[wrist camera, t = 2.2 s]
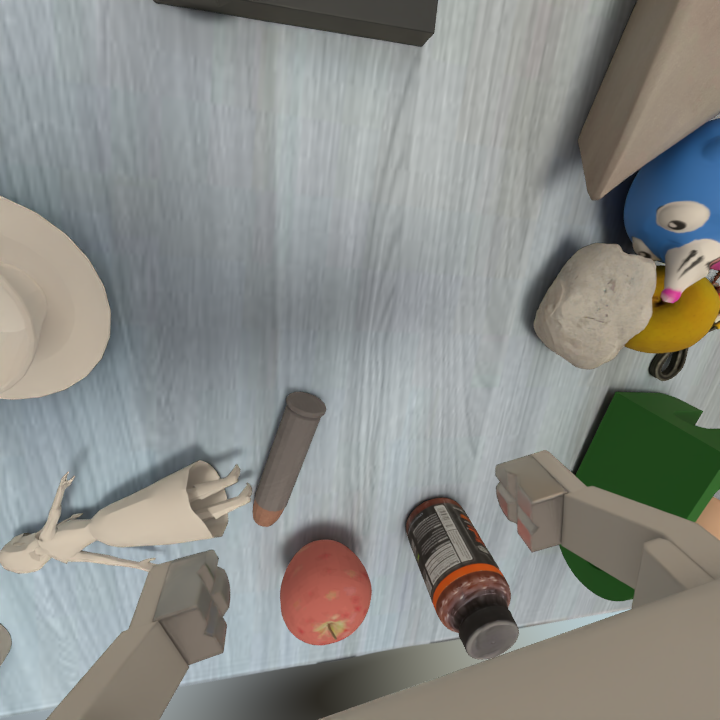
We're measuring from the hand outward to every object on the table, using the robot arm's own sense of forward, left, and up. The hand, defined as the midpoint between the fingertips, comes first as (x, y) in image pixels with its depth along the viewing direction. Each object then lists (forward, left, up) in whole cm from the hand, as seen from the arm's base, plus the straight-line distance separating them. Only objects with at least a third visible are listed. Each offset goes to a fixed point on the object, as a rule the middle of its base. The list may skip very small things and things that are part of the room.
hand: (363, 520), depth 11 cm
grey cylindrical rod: (-1, -11, -18) cm, 21 cm away
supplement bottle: (+12, -19, -18) cm, 29 cm away
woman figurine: (-5, -11, -15) cm, 19 cm away
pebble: (+21, +2, -14) cm, 26 cm away
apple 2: (+28, +1, -16) cm, 32 cm away
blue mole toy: (+27, +8, -10) cm, 30 cm away
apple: (+1, -22, -18) cm, 28 cm away
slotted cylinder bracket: (+26, -15, -13) cm, 33 cm away
